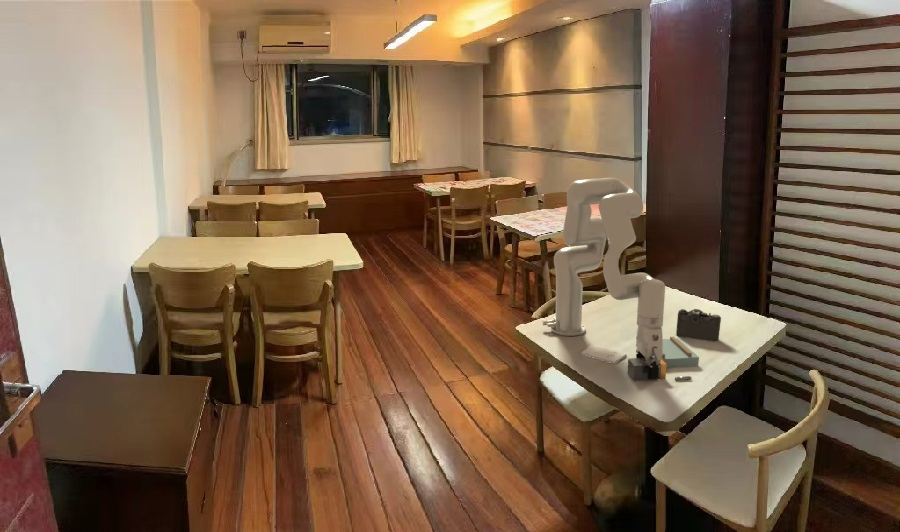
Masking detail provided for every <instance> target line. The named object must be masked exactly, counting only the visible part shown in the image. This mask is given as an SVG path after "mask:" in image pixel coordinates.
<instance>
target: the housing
mask: <svg viewBox="0 0 900 532" xmlns="http://www.w3.org/2000/svg"><path fill="white" fill-rule="evenodd" d="M651 361H652V363H653V361H655V360H651ZM648 366H649V362H648V359H647V358H636V357H635V358H634V357H633V358H628V359H627V372H626V373H627V375H628V377H630V379H632V381H633V382H638V381H639V382H641V381H656V380H657V379H648V378H647V375H648ZM666 366H667V364H666V363H665V362H664V361H663V360H662V359H661V361H660V367H659V374H658V379H660V380H666V377H667V376H666V375H667V368H666ZM657 381H658V380H657Z"/></svg>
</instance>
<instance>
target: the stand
mask: <svg viewBox="0 0 900 532" xmlns="http://www.w3.org/2000/svg"><path fill="white" fill-rule="evenodd" d="M650 357H655V356H650ZM661 359H662V360H663V361H664V362H665V363H666V364H667V366H666V369H669V368H668V367H670V368H682V367H683V368H686V367H699V361H700V356H698V355H697V354H696V353H695V352H694V351H693V350H692V349H691V348H689V347H688V346H687V345H686V344H685V343H684V342H683V341H682V340H681V339H679V338H677V337H676V336H670V337H669V338H663V352H662V358H661Z"/></svg>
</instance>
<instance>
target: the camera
mask: <svg viewBox="0 0 900 532" xmlns="http://www.w3.org/2000/svg"><path fill="white" fill-rule="evenodd" d="M676 318H677V319H676V321H677V322H676V331H675V335H676V336H678V337H682V338H687V339H695V340H702V341H706V342H707V341H708V342H718V341H719V339H720V330H721V324H722V323H721V321H722V317H721V316H720V315H719V314H712V313H711V312H709V313H707V312H704V311H702V310H701V309H699V308H694V309H691V310H689V311H688V310H687V309H685V308H681V309H679V310H678V312H677V317H676Z"/></svg>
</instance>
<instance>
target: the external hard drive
mask: <svg viewBox="0 0 900 532" xmlns="http://www.w3.org/2000/svg"><path fill="white" fill-rule="evenodd" d="M581 354H583V355H582V356H584V355H587V356H586V357H588V356H590V357H589V358H591V357H594V358H593V359H595V358H596V359H595V360H598V359H599V361H602V360H603V362H605V361H606V363H609V362H610V364H612V363H614V364H613V365H616V364H618V363H619V362H620V361H621V360H623V359H625V358H626V357H627V356H628V355H627V353H624V352H620V351H617V350H614V349H609V348H606V347H602V346H598V345H595V344H591V345H590V346H589V347H587V348H585V349H584V350H583V351H581ZM618 361H619V362H618ZM617 362H618V363H617Z"/></svg>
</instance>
